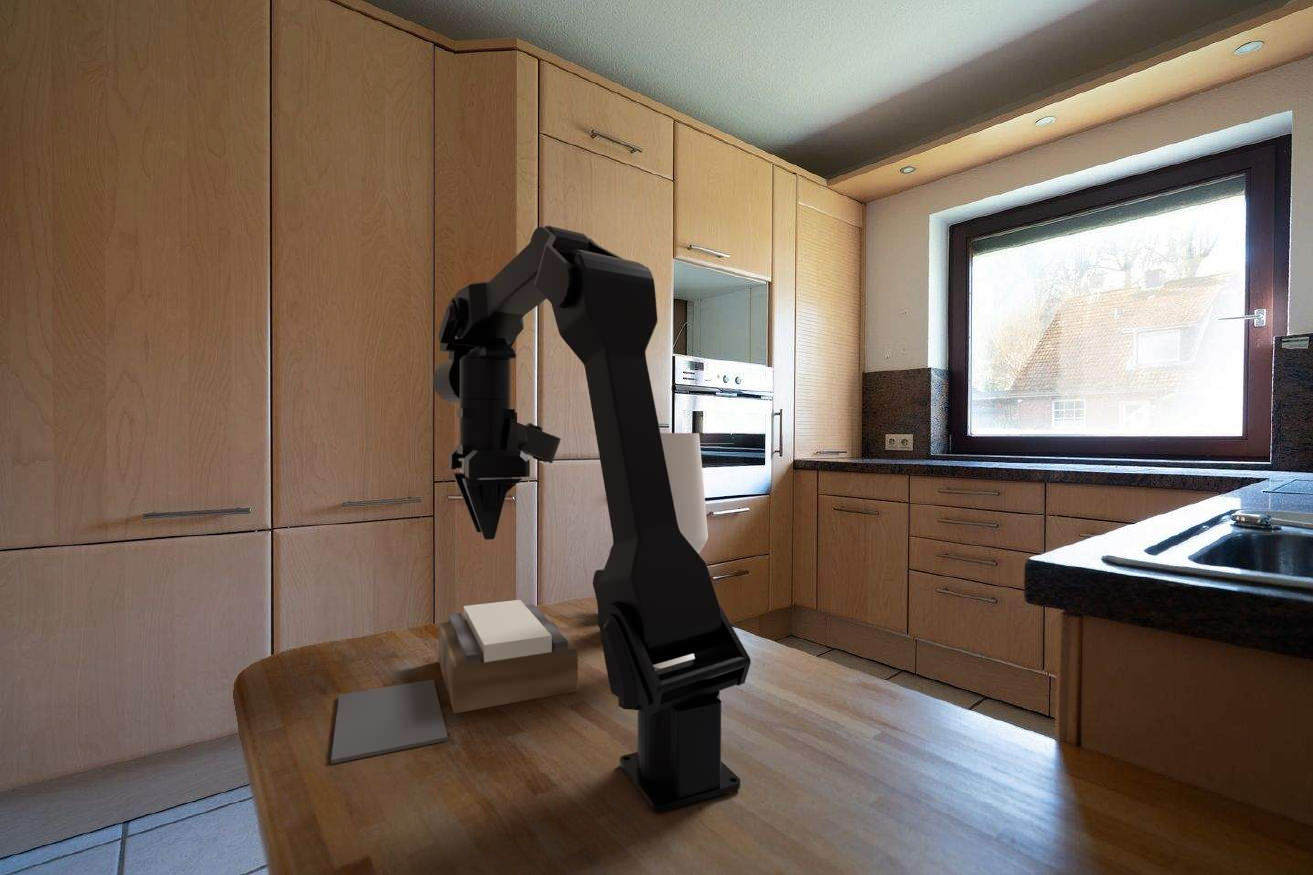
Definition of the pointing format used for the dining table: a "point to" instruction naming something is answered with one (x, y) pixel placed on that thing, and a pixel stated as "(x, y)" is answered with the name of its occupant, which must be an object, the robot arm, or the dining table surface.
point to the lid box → (503, 668)
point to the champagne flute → (686, 495)
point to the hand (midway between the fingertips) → (485, 535)
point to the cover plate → (506, 630)
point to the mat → (387, 721)
